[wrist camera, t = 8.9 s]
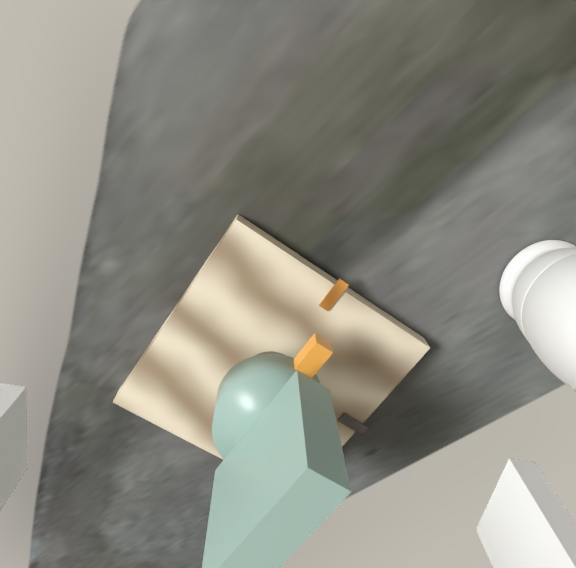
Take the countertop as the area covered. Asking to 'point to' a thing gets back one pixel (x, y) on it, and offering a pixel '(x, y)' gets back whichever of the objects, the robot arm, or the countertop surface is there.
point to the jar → (545, 303)
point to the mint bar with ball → (273, 459)
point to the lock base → (266, 337)
